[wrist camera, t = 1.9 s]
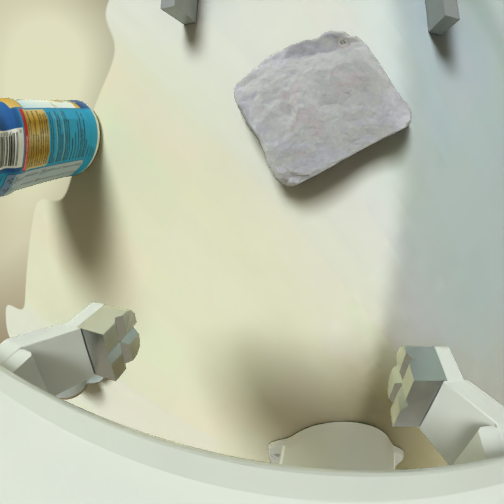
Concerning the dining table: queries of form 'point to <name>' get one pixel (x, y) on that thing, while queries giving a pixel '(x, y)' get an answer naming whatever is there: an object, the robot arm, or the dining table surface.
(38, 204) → the dining table surface
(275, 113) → the stone block
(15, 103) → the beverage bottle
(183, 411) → the dining table surface
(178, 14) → the box
